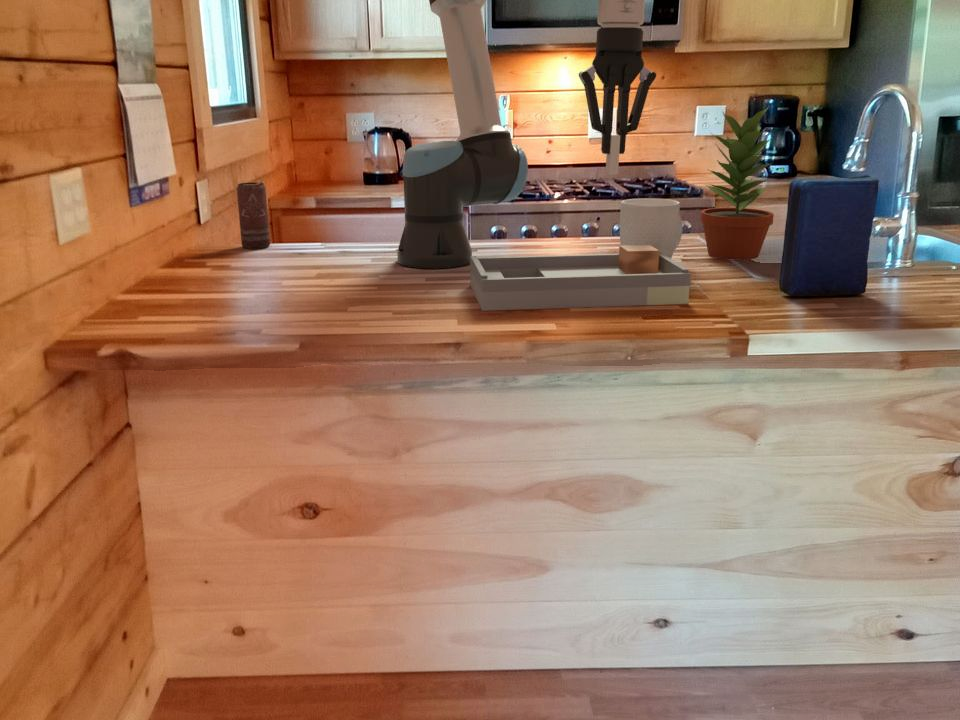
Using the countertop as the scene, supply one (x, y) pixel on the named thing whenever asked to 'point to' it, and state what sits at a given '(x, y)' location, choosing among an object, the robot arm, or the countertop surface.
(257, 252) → the countertop surface
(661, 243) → the mug
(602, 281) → the box
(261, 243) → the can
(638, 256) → the block
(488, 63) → the robot arm
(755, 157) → the potted plant
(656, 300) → the pad
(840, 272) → the book
